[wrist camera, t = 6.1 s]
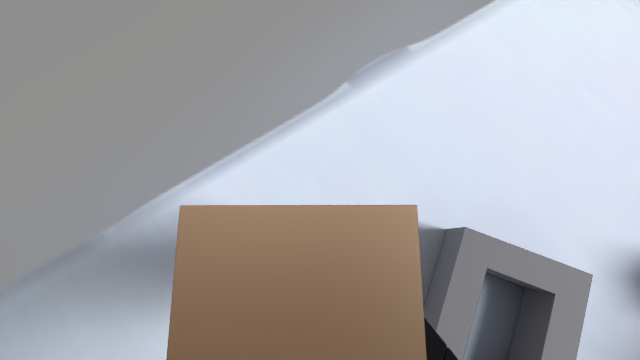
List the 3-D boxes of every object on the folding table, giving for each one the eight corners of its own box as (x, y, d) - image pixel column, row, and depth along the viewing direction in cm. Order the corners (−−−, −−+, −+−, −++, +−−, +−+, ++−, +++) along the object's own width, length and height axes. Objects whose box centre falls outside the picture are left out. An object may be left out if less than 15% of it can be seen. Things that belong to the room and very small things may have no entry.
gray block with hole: (523, 422, 21) (557, 451, 18) (403, 373, 22) (417, 394, 19) (557, 270, 23) (592, 275, 20) (446, 229, 24) (465, 226, 21)
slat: (348, 337, 16) (449, 733, 3) (288, 337, 16) (134, 725, 3) (346, 235, 17) (416, 204, 4) (289, 235, 17) (180, 205, 4)
